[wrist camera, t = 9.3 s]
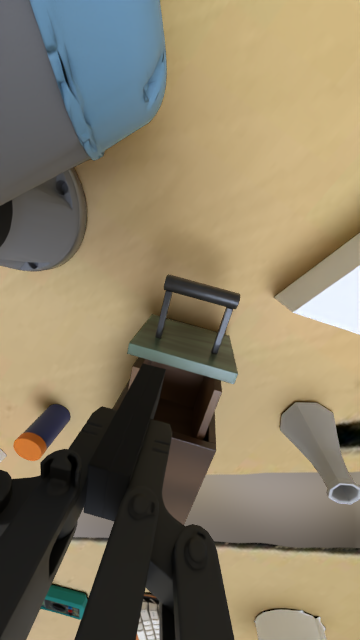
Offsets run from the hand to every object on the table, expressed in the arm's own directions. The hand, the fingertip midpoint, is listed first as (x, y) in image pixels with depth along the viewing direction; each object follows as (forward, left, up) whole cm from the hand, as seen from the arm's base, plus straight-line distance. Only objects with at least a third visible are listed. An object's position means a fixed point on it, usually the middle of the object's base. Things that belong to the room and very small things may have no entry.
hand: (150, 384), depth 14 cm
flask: (+3, +24, -16) cm, 29 cm away
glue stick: (+28, -7, -16) cm, 33 cm away
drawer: (+3, +3, -15) cm, 15 cm away
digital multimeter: (+87, +19, -16) cm, 90 cm away
